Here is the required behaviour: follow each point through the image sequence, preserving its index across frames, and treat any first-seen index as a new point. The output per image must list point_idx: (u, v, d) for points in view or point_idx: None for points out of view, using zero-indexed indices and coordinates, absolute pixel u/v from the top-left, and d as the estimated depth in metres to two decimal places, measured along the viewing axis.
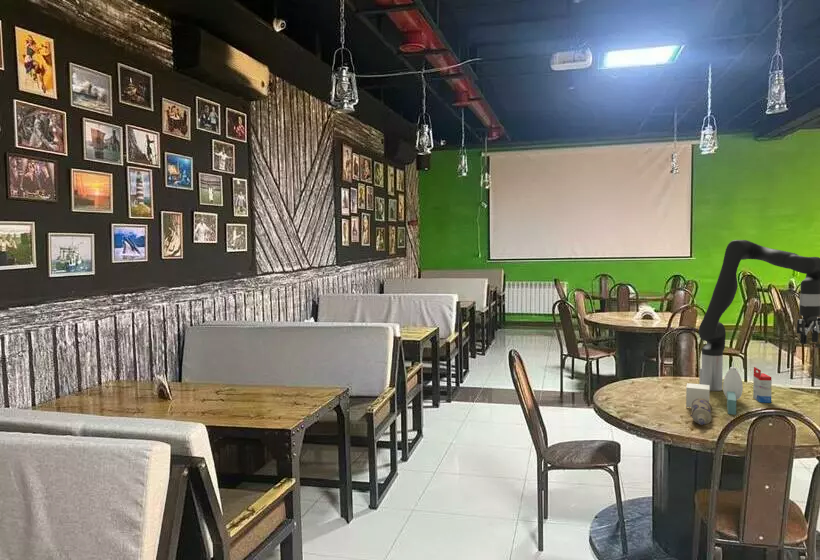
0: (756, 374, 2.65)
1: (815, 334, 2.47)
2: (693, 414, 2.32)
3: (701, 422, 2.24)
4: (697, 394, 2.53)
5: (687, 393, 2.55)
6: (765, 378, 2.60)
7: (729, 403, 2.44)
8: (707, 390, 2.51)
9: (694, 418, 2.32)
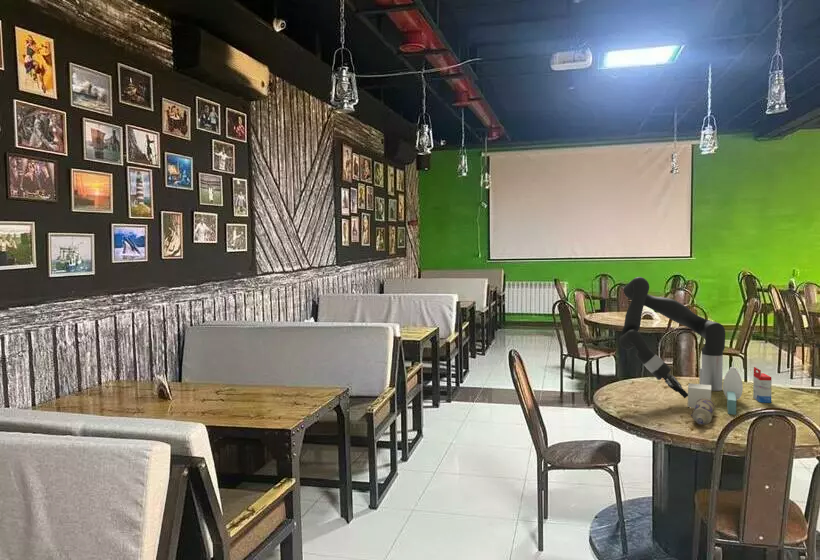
0: (756, 374, 2.65)
1: None
2: (693, 414, 2.33)
3: (699, 421, 2.24)
4: (698, 394, 2.53)
5: (689, 393, 2.54)
6: (765, 378, 2.60)
7: (729, 403, 2.44)
8: (709, 390, 2.51)
9: (694, 418, 2.32)
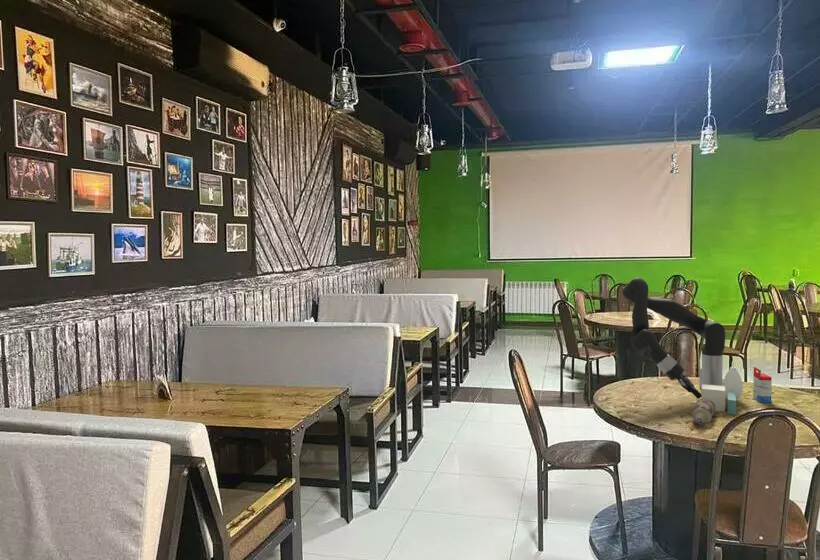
0: (756, 374, 2.65)
1: None
2: (693, 413, 2.33)
3: (698, 421, 2.25)
4: (712, 395, 2.50)
5: (702, 394, 2.52)
6: (765, 378, 2.60)
7: (729, 403, 2.44)
8: (723, 391, 2.48)
9: (694, 417, 2.33)
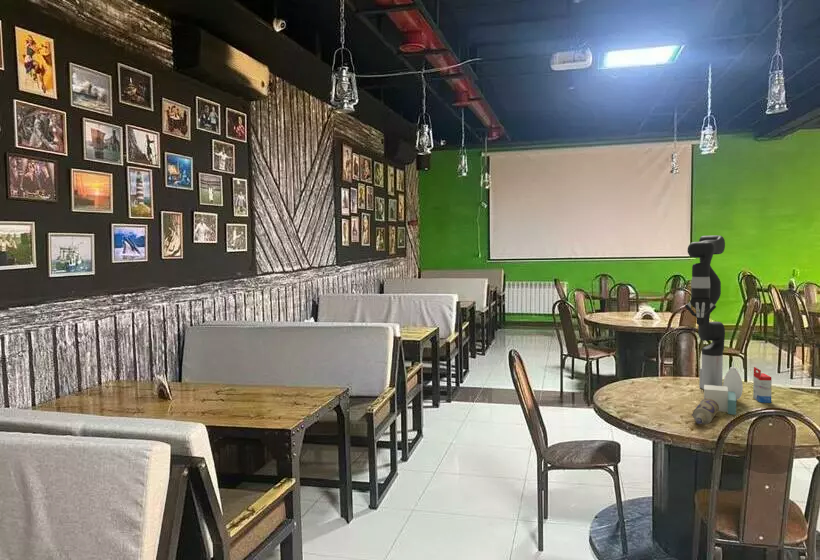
0: (756, 374, 2.65)
1: None
2: (694, 413, 2.33)
3: (698, 421, 2.25)
4: (715, 396, 2.50)
5: (705, 395, 2.51)
6: (765, 378, 2.60)
7: (729, 403, 2.44)
8: (725, 392, 2.48)
9: (694, 417, 2.33)
